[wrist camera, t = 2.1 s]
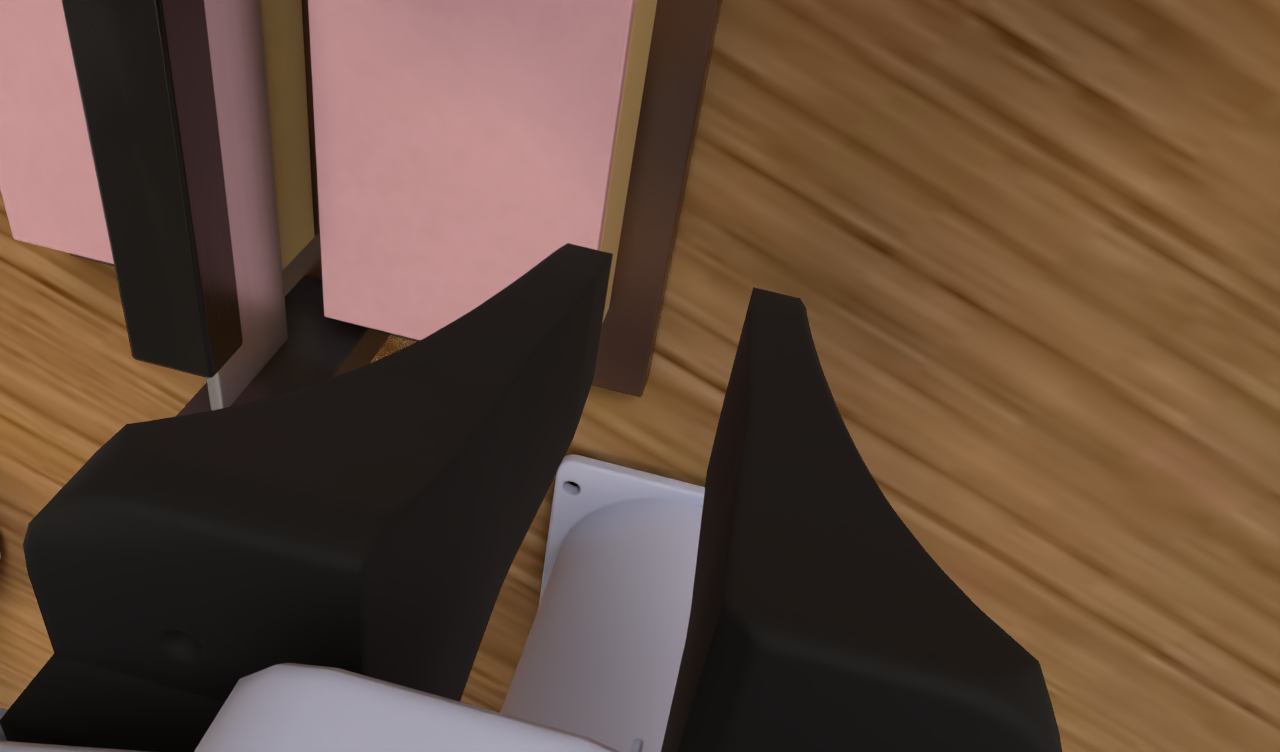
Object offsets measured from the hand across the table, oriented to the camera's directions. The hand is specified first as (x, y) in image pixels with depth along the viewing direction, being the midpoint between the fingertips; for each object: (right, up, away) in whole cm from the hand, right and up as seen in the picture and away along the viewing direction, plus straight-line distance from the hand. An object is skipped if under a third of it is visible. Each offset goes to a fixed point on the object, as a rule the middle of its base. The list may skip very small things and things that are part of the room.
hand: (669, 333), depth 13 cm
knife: (-7, +6, +5) cm, 11 cm away
